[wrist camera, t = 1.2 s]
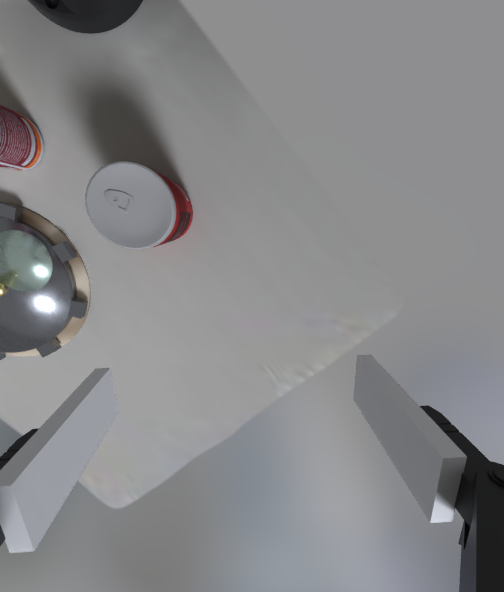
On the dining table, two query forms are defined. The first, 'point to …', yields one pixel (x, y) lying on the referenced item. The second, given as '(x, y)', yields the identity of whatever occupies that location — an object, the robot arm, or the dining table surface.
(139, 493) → the dining table surface
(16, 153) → the pill bottle
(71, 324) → the base
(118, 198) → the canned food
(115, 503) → the dining table surface
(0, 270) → the sprocket
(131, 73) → the dining table surface
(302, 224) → the dining table surface
